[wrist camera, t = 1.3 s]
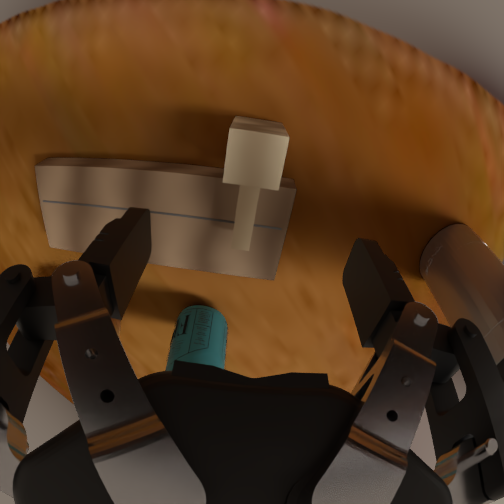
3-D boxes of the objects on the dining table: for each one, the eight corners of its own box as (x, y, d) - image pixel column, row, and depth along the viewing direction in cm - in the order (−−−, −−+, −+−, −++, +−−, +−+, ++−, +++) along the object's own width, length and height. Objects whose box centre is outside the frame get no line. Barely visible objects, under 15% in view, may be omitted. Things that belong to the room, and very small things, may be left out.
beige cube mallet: (282, 123, 23) (289, 137, 18) (262, 222, 29) (263, 258, 24) (235, 115, 23) (229, 127, 18) (222, 216, 28) (215, 251, 24)
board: (293, 179, 26) (296, 189, 24) (273, 265, 32) (274, 280, 30) (47, 157, 24) (34, 166, 22) (60, 235, 30) (49, 247, 28)
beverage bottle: (191, 286, 34) (155, 454, 17) (240, 309, 36) (231, 470, 19) (171, 317, 37) (137, 462, 20) (215, 336, 39) (200, 477, 22)
